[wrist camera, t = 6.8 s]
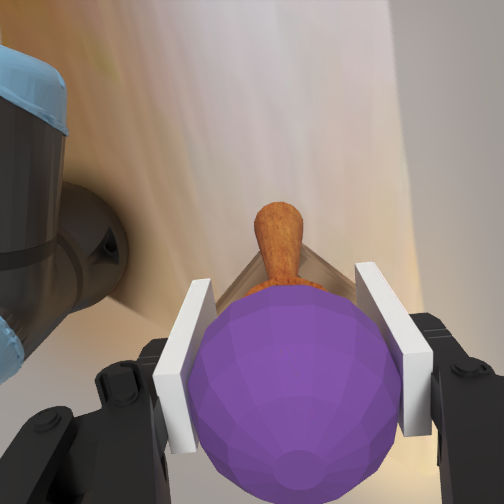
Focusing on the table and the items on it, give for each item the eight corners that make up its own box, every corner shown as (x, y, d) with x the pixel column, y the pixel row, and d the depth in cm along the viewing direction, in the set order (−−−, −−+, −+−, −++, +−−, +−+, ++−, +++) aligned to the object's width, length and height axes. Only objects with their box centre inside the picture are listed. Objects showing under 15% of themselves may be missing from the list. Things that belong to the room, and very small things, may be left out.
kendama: (268, 282, 30) (269, 593, 11) (216, 216, 28) (113, 443, 9) (340, 235, 28) (483, 497, 10) (289, 163, 27) (340, 304, 8)
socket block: (213, 305, 52) (208, 325, 47) (280, 226, 48) (281, 239, 44) (312, 375, 55) (316, 400, 50) (382, 305, 51) (394, 325, 47)
